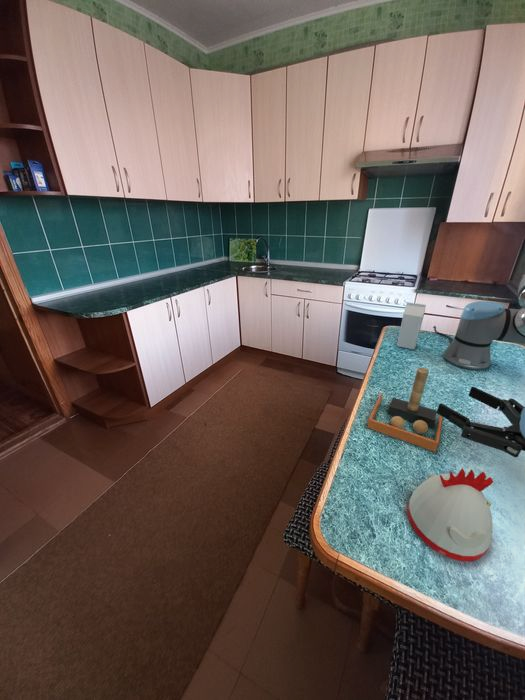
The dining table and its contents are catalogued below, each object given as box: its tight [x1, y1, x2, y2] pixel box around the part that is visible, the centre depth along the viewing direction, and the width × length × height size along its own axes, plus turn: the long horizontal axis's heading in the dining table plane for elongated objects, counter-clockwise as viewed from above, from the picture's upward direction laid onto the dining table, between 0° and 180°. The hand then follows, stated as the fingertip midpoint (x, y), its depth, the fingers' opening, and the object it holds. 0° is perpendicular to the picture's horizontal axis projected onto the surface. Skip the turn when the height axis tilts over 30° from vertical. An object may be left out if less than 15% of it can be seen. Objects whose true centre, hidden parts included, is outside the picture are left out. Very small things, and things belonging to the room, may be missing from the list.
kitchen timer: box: [406, 467, 494, 562], centre depth 54 cm, size 14×14×15 cm
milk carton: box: [396, 301, 427, 350], centre depth 123 cm, size 7×7×19 cm
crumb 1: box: [390, 416, 406, 430], centre depth 81 cm, size 4×4×4 cm
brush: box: [387, 367, 437, 429], centre depth 82 cm, size 5×12×16 cm, turn 57°
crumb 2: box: [412, 420, 429, 435], centre depth 79 cm, size 4×4×4 cm
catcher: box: [366, 392, 443, 453], centre depth 83 cm, size 15×17×3 cm
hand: (455, 399), depth 73 cm, fingers open, 13 cm apart
